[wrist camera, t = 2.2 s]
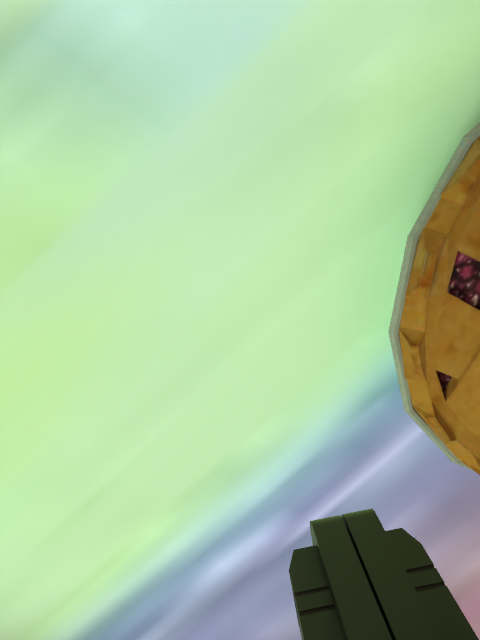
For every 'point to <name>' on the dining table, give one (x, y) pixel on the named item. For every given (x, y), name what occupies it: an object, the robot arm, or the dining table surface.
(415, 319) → the pie
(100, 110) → the dining table surface
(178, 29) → the dining table surface
